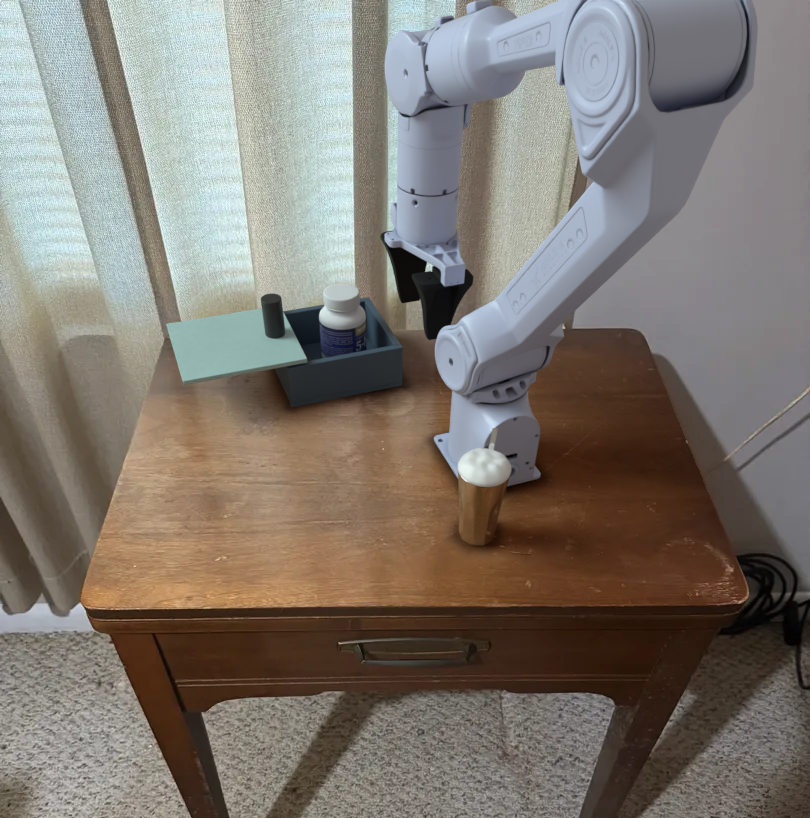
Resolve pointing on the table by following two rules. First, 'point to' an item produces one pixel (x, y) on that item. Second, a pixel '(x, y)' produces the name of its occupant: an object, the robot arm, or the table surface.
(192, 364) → the sliding lid
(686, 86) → the robot arm
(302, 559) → the table surface
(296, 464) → the table surface
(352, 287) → the pill bottle
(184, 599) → the table surface
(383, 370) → the case
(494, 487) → the milkshake
